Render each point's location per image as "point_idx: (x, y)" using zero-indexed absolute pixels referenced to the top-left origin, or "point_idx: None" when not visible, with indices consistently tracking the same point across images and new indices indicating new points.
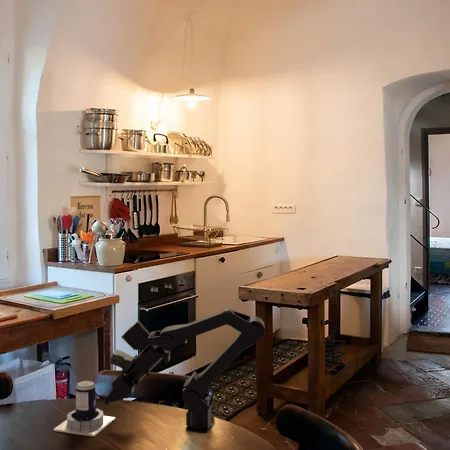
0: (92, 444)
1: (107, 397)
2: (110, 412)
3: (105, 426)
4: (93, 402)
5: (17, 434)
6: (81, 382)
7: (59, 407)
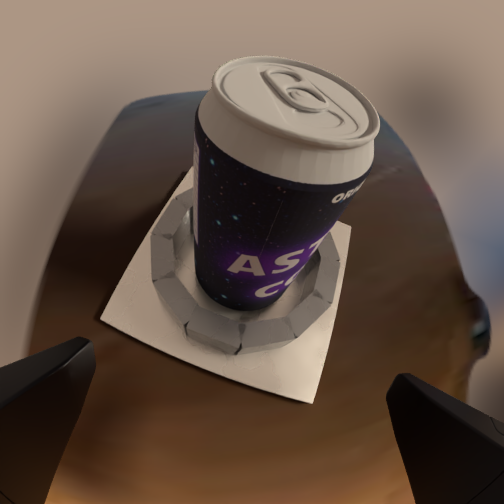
0: (37, 316)
1: (23, 362)
2: (381, 359)
3: (206, 369)
4: (229, 253)
5: (186, 107)
6: (327, 81)
7: (384, 179)
